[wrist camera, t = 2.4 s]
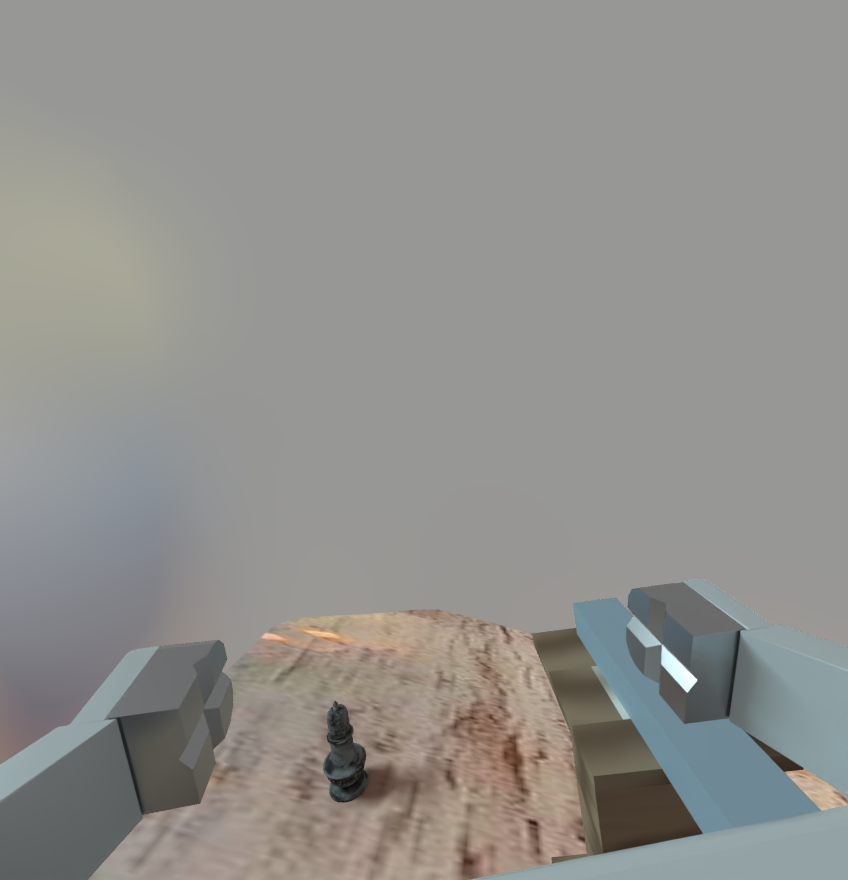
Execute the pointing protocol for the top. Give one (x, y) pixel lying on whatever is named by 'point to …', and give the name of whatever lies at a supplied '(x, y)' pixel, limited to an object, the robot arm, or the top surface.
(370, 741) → the top surface
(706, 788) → the batten
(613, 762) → the shelf stand
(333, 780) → the dark chess piece
